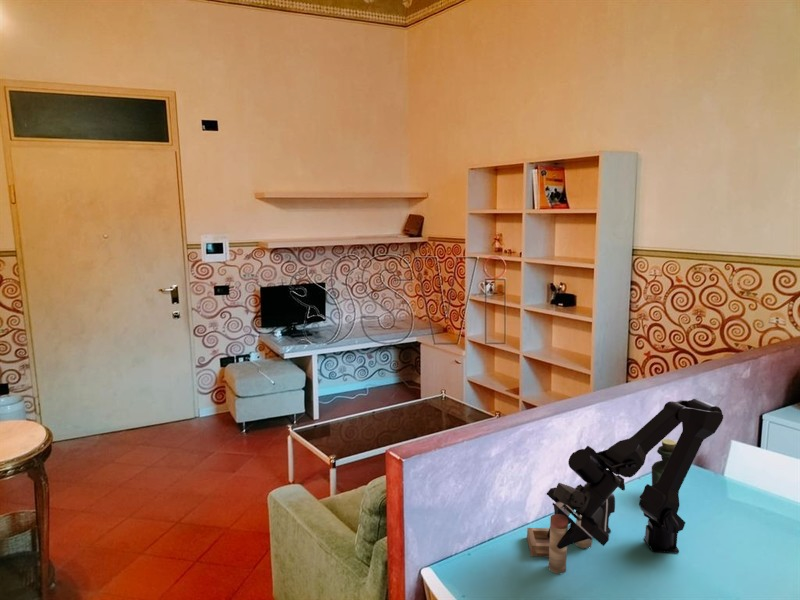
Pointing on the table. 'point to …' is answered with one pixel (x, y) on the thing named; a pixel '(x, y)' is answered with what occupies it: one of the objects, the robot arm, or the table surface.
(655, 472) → the potion bottle
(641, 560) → the table surface
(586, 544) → the short pin
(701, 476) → the table surface
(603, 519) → the battery charger
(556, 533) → the long pin
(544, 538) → the light brown square frame
